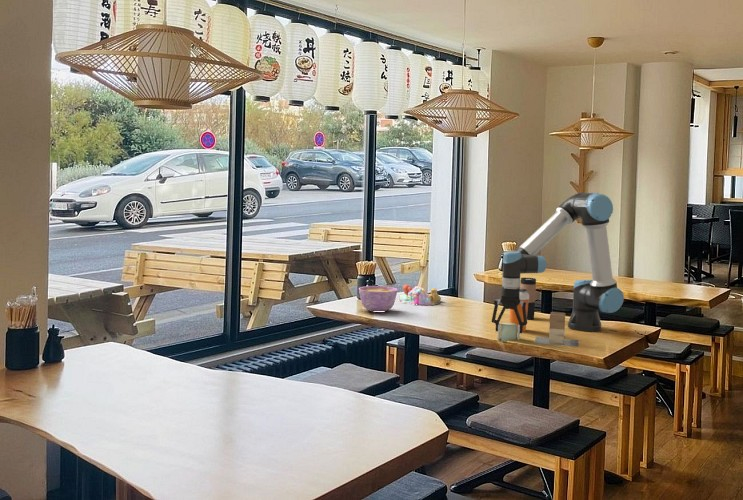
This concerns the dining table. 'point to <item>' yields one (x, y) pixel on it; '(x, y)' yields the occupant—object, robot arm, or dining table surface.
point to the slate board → (566, 343)
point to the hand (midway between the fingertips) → (508, 339)
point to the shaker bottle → (520, 309)
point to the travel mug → (531, 290)
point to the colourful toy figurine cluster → (419, 296)
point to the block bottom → (556, 335)
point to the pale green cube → (508, 331)
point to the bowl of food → (377, 297)
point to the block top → (557, 320)
